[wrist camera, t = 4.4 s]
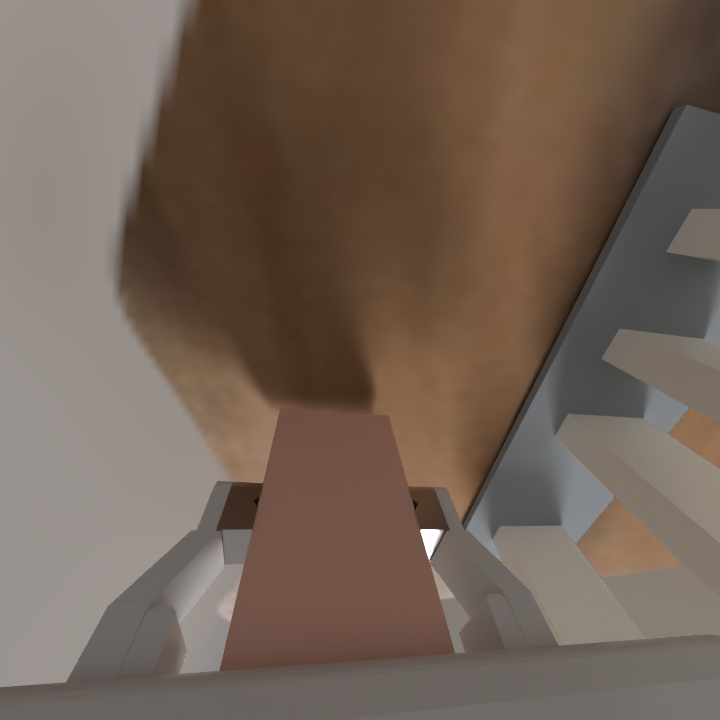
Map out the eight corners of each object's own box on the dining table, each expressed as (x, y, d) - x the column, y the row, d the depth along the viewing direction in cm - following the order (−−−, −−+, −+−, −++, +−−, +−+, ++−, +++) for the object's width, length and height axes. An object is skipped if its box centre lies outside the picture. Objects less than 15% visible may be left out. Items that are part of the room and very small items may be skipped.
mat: (673, 108, 10) (686, 104, 9) (876, 164, 11) (894, 163, 11) (447, 555, 22) (449, 561, 22) (560, 552, 24) (563, 557, 23)
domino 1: (280, 408, 13) (176, 855, 4) (388, 415, 14) (496, 800, 5) (279, 434, 13) (188, 861, 5) (381, 440, 14) (464, 812, 6)
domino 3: (500, 526, 20) (634, 773, 11) (561, 525, 21) (732, 755, 12) (492, 539, 21) (612, 781, 12) (551, 538, 22) (705, 764, 13)
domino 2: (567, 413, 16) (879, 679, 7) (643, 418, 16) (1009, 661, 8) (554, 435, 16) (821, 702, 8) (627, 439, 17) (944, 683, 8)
